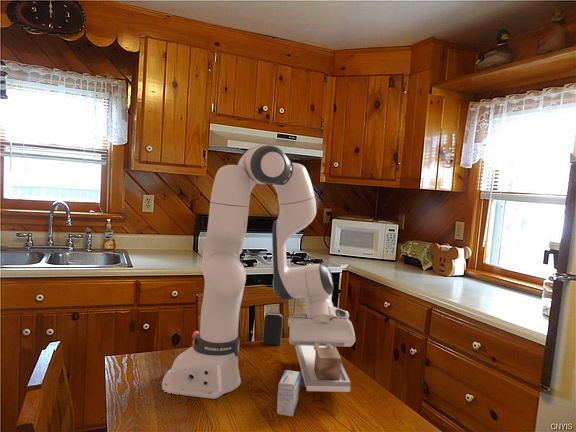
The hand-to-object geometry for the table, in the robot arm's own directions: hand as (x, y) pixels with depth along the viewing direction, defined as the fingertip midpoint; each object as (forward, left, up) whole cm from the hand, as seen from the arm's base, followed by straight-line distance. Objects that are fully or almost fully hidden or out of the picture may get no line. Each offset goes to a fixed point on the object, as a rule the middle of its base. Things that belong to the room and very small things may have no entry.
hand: (323, 359), depth 119 cm
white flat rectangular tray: (0, +4, -5) cm, 6 cm away
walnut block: (0, -4, -3) cm, 5 cm away
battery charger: (-13, +32, -9) cm, 36 cm away
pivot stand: (0, +4, -9) cm, 10 cm away
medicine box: (-11, -11, -9) cm, 18 cm away
